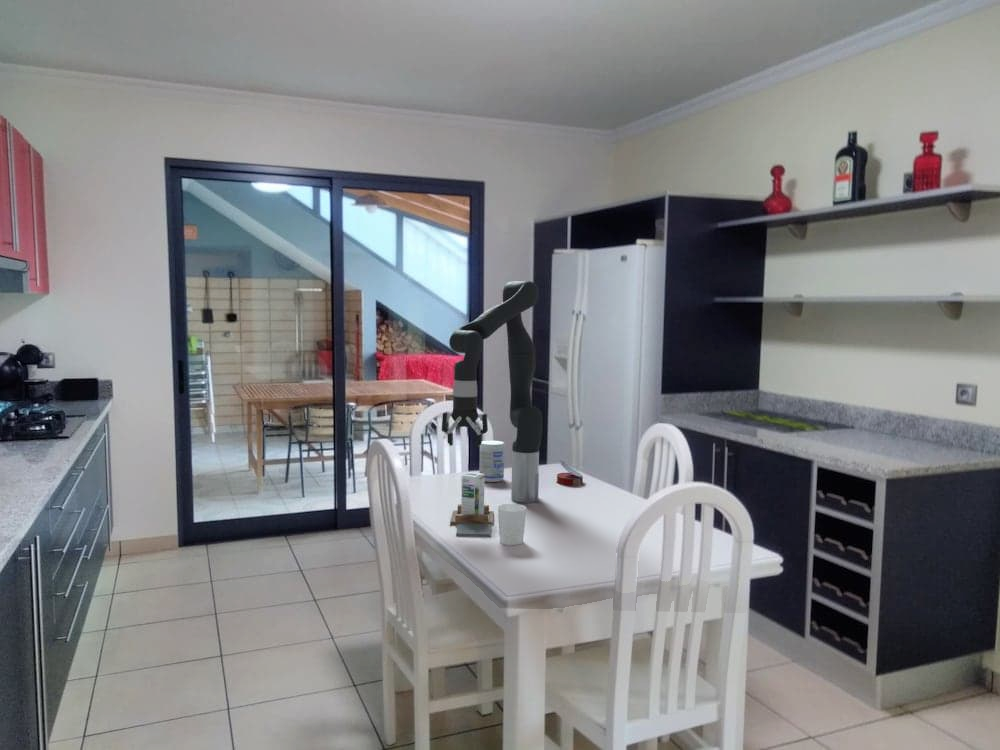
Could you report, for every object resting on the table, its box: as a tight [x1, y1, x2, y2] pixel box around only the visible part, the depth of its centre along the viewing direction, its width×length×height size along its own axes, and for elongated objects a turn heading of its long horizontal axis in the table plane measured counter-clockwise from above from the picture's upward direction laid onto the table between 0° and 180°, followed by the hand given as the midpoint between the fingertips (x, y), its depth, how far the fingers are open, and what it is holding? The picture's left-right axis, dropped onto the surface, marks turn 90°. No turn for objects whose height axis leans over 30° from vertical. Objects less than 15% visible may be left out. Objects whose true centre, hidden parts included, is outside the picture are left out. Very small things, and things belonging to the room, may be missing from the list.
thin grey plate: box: [455, 523, 492, 538], centre depth 215 cm, size 10×10×1 cm
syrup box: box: [460, 471, 485, 515], centre depth 227 cm, size 6×6×14 cm
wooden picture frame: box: [449, 503, 495, 527], centre depth 227 cm, size 13×12×3 cm
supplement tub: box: [478, 440, 505, 483], centre depth 280 cm, size 10×10×15 cm
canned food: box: [556, 460, 584, 487], centre depth 278 cm, size 11×10×10 cm
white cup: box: [497, 503, 527, 546], centre depth 206 cm, size 8×8×10 cm
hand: (464, 445), depth 228 cm, fingers open, 8 cm apart
